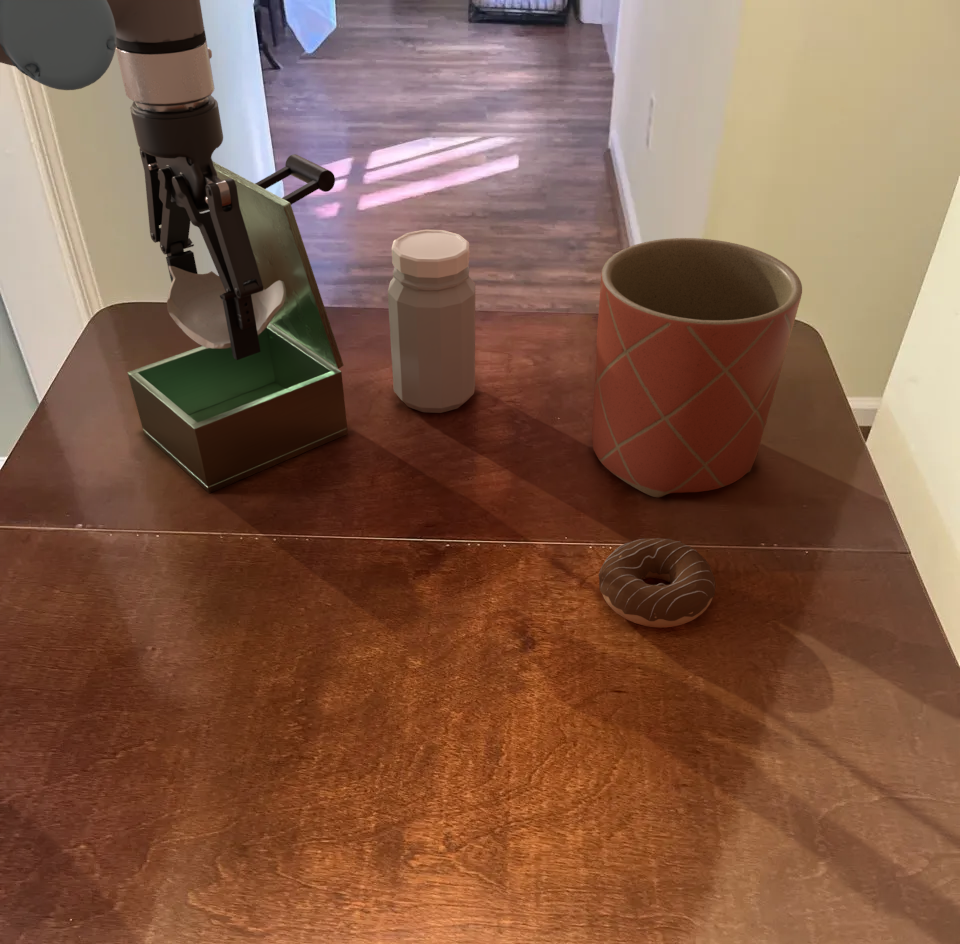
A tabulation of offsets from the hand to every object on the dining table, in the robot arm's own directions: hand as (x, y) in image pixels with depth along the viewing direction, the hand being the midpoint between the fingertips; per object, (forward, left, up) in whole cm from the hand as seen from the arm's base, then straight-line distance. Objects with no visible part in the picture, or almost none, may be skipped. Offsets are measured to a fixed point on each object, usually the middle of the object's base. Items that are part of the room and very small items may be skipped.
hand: (218, 334), depth 101 cm
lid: (+4, +6, +5) cm, 9 cm away
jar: (+17, +16, -13) cm, 27 cm away
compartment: (0, +1, -12) cm, 12 cm away
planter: (+46, +13, -13) cm, 50 cm away
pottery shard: (+1, +1, 0) cm, 1 cm away
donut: (+49, -11, -13) cm, 52 cm away
